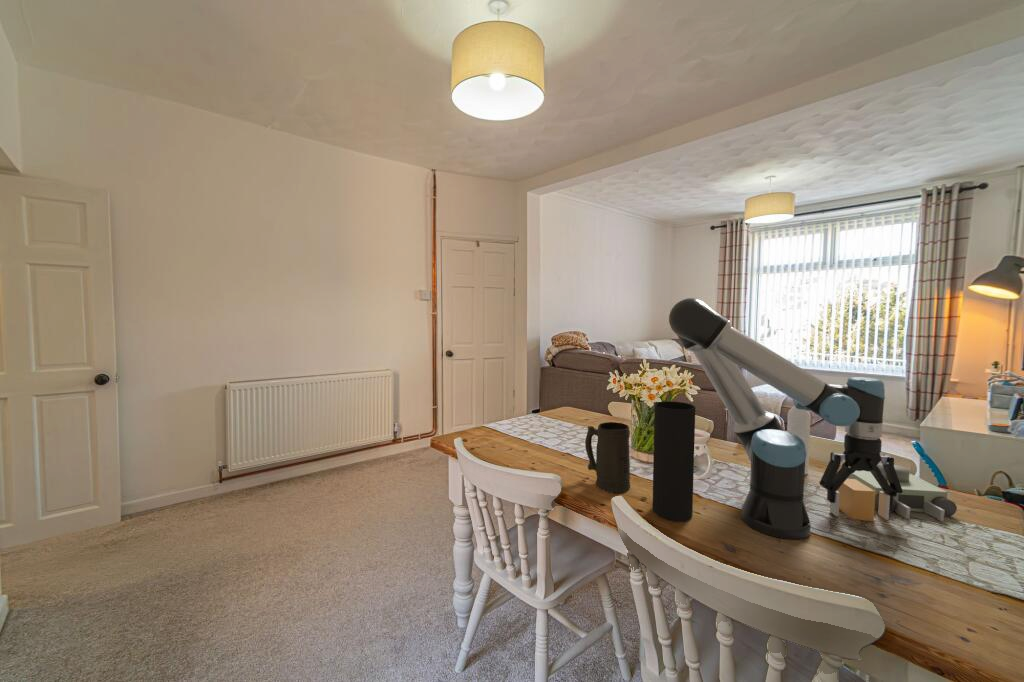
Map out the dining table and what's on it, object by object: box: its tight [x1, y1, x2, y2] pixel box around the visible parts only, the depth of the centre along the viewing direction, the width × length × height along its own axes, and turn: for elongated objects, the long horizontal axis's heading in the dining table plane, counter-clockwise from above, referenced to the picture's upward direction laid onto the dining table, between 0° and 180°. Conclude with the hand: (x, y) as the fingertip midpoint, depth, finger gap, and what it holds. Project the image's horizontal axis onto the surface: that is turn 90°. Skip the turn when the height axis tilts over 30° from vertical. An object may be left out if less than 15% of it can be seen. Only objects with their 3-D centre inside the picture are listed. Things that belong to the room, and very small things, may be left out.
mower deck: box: [836, 462, 958, 522], centre depth 119 cm, size 19×22×9 cm
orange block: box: [837, 479, 875, 522], centre depth 112 cm, size 5×8×8 cm, turn 170°
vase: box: [651, 400, 696, 523], centre depth 112 cm, size 10×10×30 cm
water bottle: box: [786, 405, 812, 476], centre depth 141 cm, size 9×6×25 cm
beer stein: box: [584, 421, 631, 494], centre depth 131 cm, size 15×11×20 cm
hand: (858, 515), depth 110 cm, fingers open, 11 cm apart
